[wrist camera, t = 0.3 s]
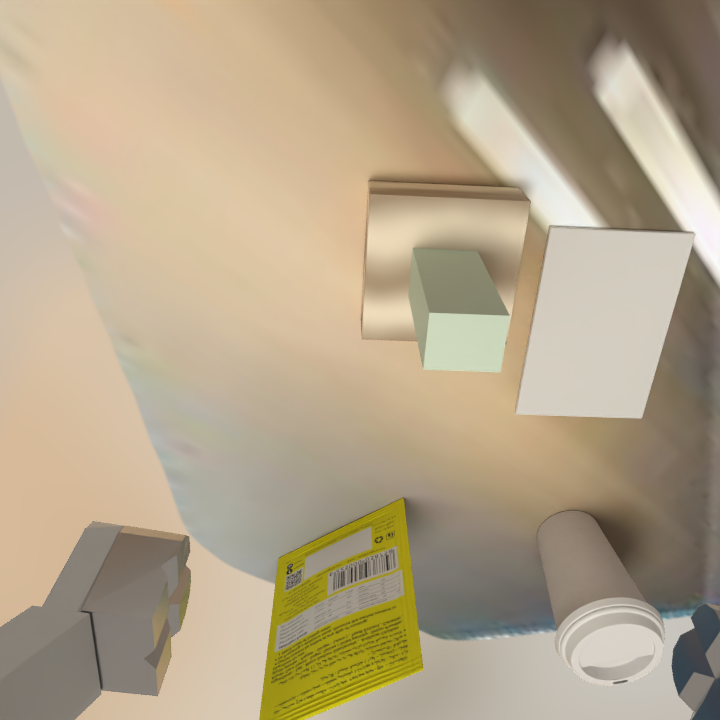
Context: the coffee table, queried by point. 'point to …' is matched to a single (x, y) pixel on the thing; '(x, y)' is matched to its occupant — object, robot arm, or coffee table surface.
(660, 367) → the coffee table surface
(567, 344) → the rubber mat
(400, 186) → the plate
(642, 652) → the coffee cup
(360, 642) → the food package
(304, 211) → the coffee table surface
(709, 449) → the coffee table surface
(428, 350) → the sage green pillar
